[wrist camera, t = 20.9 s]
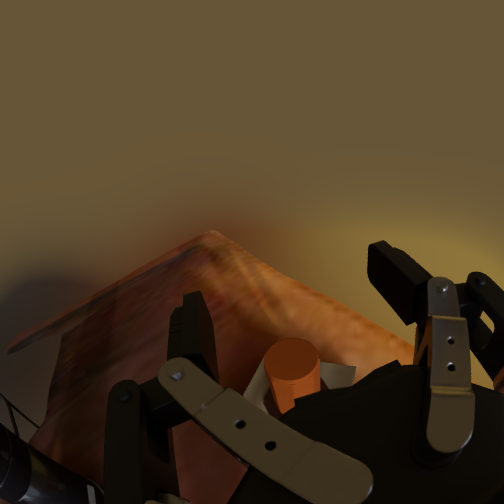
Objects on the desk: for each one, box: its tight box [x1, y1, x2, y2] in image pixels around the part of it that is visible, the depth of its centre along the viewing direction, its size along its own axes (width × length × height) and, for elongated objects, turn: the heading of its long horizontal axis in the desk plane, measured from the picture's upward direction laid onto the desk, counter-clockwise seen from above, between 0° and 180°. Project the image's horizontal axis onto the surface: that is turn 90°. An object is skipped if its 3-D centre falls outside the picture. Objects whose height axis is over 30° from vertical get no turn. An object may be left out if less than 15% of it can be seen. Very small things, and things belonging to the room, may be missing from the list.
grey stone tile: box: [243, 356, 356, 413], centre depth 30 cm, size 13×13×2 cm
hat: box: [263, 338, 329, 419], centre depth 27 cm, size 8×8×9 cm
